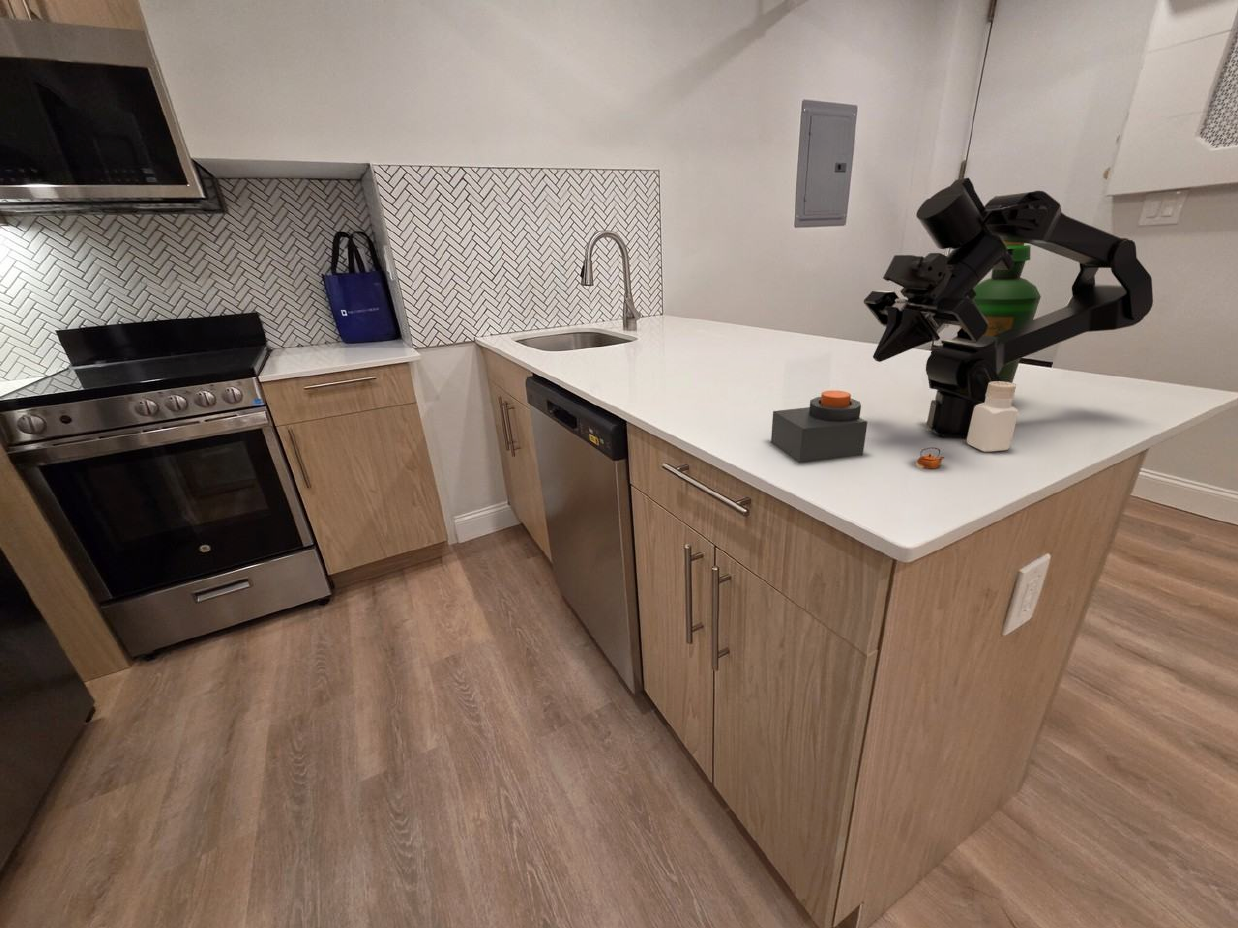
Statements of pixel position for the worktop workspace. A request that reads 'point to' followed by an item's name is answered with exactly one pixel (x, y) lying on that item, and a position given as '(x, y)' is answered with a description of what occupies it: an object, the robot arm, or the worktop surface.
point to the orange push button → (835, 398)
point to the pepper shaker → (994, 418)
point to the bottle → (1008, 300)
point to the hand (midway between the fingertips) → (875, 359)
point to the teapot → (929, 461)
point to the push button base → (819, 431)
